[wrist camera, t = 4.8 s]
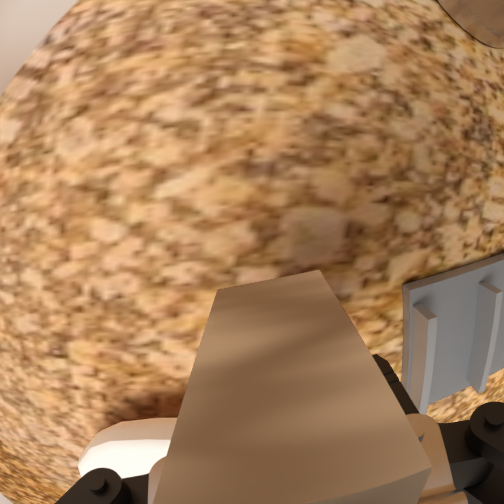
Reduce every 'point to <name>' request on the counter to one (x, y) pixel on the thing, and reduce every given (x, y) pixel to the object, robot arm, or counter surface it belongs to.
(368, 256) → the counter surface
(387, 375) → the robot arm
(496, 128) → the counter surface
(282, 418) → the block
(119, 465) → the plate
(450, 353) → the rack
